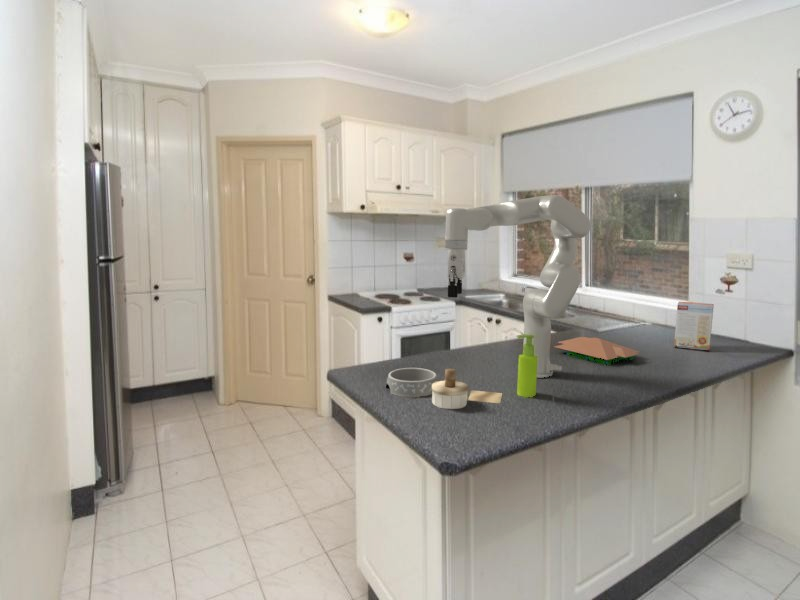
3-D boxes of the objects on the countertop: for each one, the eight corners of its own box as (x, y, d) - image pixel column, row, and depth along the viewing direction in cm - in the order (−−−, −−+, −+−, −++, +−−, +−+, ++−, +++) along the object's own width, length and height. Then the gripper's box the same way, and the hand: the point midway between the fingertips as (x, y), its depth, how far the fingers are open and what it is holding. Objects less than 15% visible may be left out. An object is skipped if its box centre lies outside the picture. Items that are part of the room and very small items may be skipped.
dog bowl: (395, 400, 161) (395, 384, 160) (380, 383, 178) (380, 368, 177) (446, 396, 166) (446, 380, 165) (427, 379, 183) (427, 364, 182)
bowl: (468, 400, 161) (469, 386, 161) (463, 411, 151) (464, 396, 151) (436, 396, 164) (436, 383, 163) (429, 408, 154) (429, 393, 153)
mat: (502, 394, 167) (502, 393, 167) (500, 404, 158) (500, 403, 157) (471, 391, 170) (471, 390, 170) (467, 401, 160) (467, 400, 160)
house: (613, 369, 199) (614, 349, 198) (544, 351, 226) (545, 333, 225) (645, 361, 212) (647, 341, 211) (577, 345, 239) (578, 328, 238)
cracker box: (709, 349, 232) (714, 303, 229) (709, 352, 227) (714, 305, 224) (674, 345, 239) (678, 300, 236) (673, 347, 234) (677, 302, 231)
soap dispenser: (511, 392, 169) (514, 333, 166) (532, 392, 169) (535, 332, 166) (517, 398, 163) (519, 337, 160) (538, 398, 164) (541, 336, 161)
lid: (470, 386, 161) (471, 366, 160) (465, 397, 150) (466, 376, 149) (435, 382, 164) (435, 363, 163) (428, 393, 153) (428, 373, 152)
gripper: (463, 246, 165) (462, 299, 168) (470, 244, 182) (469, 292, 184) (440, 246, 167) (439, 298, 169) (449, 244, 184) (448, 291, 186)
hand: (454, 295), depth 177 cm, fingers open, 9 cm apart
